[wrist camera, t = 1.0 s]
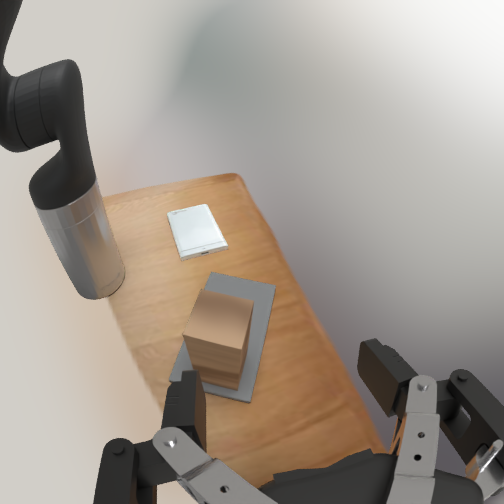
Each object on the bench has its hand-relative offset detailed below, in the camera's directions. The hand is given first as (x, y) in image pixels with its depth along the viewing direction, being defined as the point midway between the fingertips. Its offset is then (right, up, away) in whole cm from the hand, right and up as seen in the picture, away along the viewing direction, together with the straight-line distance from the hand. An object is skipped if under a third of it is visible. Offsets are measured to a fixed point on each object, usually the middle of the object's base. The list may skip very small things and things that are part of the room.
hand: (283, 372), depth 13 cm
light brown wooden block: (-5, -8, +20) cm, 22 cm away
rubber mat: (-5, -5, +24) cm, 25 cm away
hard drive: (-12, +9, +38) cm, 41 cm away
